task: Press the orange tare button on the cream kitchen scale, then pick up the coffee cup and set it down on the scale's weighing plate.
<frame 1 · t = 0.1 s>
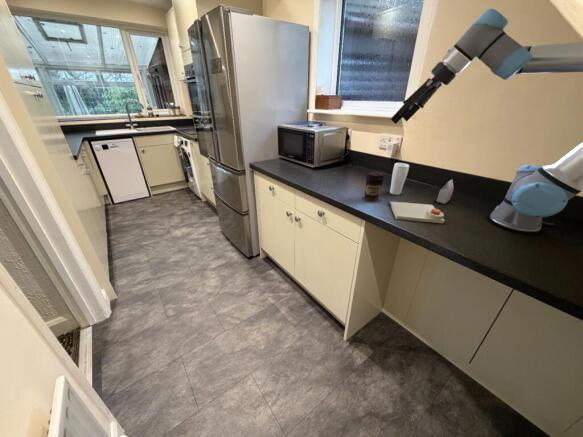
hand: (399, 120, 93), 36 cm above the counter, tool tilted 35°, fingers open, 13 cm apart
tare button: (435, 211, 93), point 3 cm above the counter, slide at 0.1 cm
coffee cup: (371, 199, 112), on the counter
drinking glass: (394, 193, 120), on the counter
scale: (414, 213, 100), on the counter
grey tapered block: (442, 201, 112), on the counter
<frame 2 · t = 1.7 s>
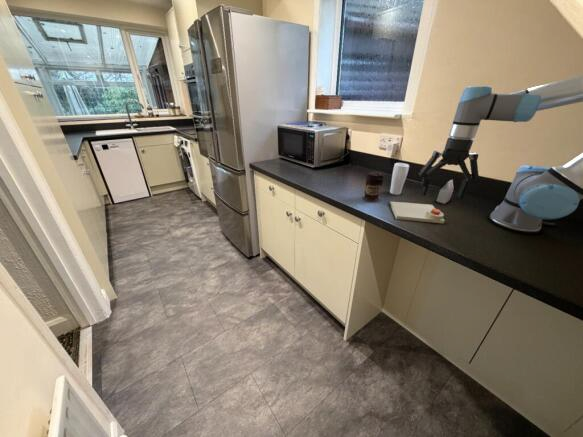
hand: (441, 195, 90), 10 cm above the counter, tool pointing down, fingers open, 12 cm apart
nothing on the counter moved.
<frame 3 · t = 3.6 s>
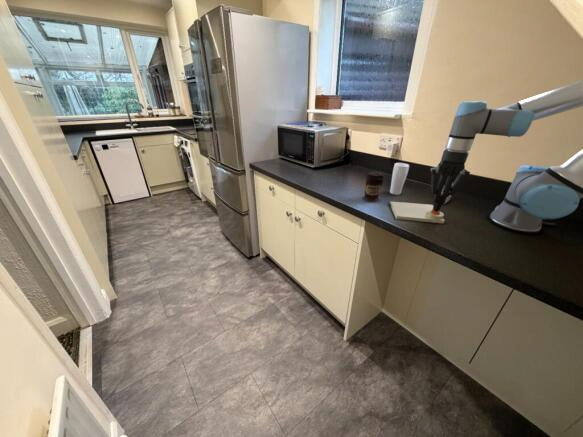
hand: (435, 210, 93), 4 cm above the counter, tool pointing down, fingers closed
tare button: (435, 212, 94), point 3 cm above the counter, slide at -0.1 cm, touching gripper
everything else where it was.
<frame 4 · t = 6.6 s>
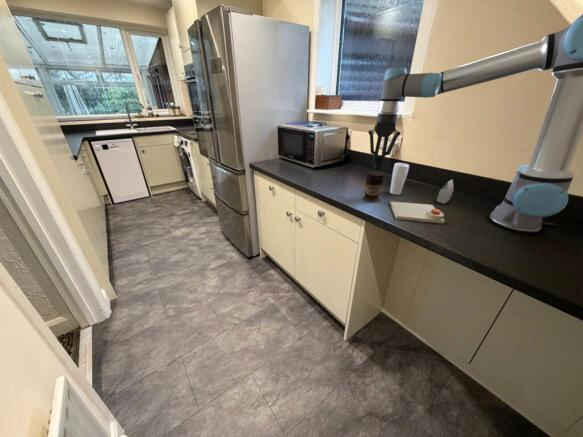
hand: (376, 169, 105), 15 cm above the counter, tool pointing down, fingers closed
tare button: (435, 211, 93), point 3 cm above the counter, slide at 0.1 cm
everything else where it was.
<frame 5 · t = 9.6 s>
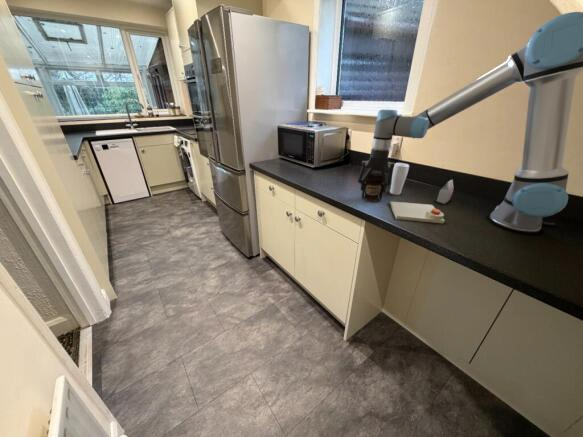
hand: (371, 197, 112), 1 cm above the counter, tool pointing down, fingers closed on coffee cup, 7 cm apart
coffee cup: (371, 199, 112), on the counter, touching gripper
everything else where it was.
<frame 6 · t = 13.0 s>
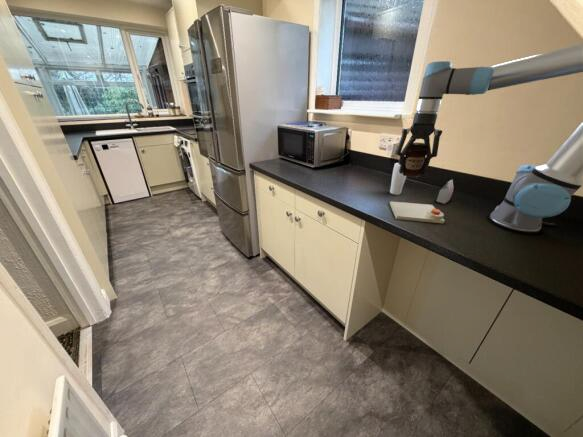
hand: (411, 173, 96), 16 cm above the counter, tool pointing down, fingers closed on coffee cup, 7 cm apart
coffee cup: (410, 176, 97), point 15 cm above the counter, touching gripper
everything else where it was.
when the fingers open (2 cm above the counter, at t = 16.8 s): coffee cup stays where it is, resting on scale.
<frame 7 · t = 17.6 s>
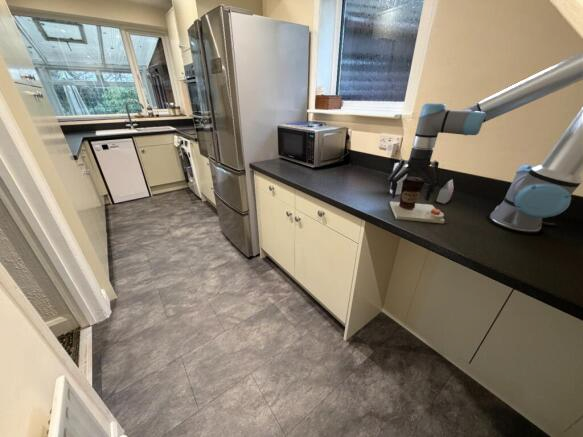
hand: (409, 198, 100), 6 cm above the counter, tool pointing down, fingers open, 13 cm apart
coffee cup: (406, 207, 102), point 1 cm above the counter, touching scale
everything else where it was.
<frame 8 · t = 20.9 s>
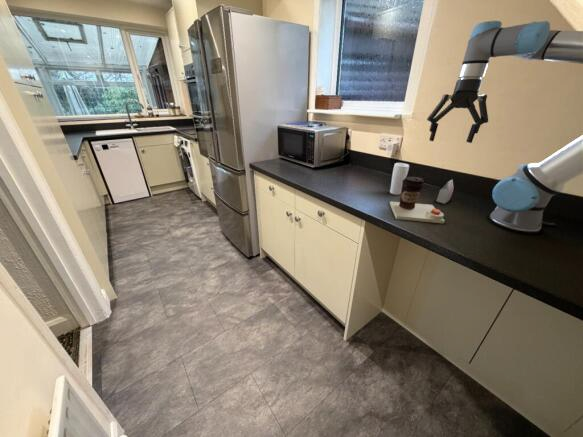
hand: (449, 141, 92), 29 cm above the counter, tool pointing down, fingers open, 13 cm apart
nothing on the counter moved.
at the end: tare button pushed in 0.8 cm at the most during the clip, back to where it started at the end; coffee cup inside the target area on the scale (1.0 cm from its centre), point 1.2 cm above the scale's base; coffee cup touching scale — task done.
